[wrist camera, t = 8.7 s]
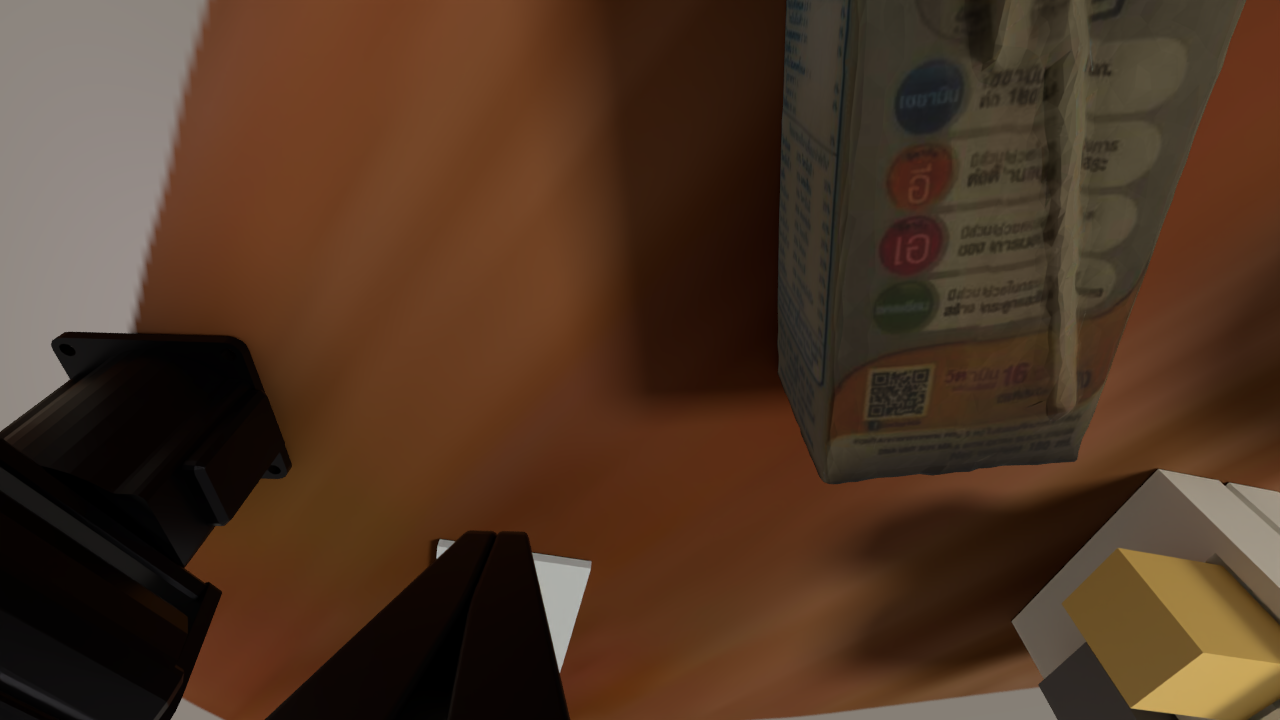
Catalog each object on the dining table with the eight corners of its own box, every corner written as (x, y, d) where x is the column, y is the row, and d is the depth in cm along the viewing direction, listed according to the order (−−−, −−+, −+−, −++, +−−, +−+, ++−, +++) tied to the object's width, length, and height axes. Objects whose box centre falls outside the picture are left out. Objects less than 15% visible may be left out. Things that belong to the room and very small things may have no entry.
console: (1011, 621, 31) (1138, 846, 23) (1158, 468, 25) (1394, 700, 17) (1112, 636, 32) (1268, 858, 24) (1277, 491, 26) (1556, 723, 18)
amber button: (1061, 603, 24) (1130, 708, 21) (1117, 547, 22) (1203, 652, 19) (1159, 618, 24) (1242, 722, 21) (1222, 565, 23) (1323, 670, 19)
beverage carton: (1187, -441, 12) (1647, -771, 7) (985, 358, 23) (1096, 486, 17) (784, -380, 12) (901, -642, 7) (770, 377, 23) (813, 508, 18)
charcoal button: (1038, 684, 27) (1094, 786, 24) (1085, 642, 25) (1153, 745, 22) (1125, 696, 28) (1192, 797, 24) (1177, 655, 26) (1257, 757, 23)
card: (429, 659, 33) (426, 671, 32) (439, 539, 28) (435, 550, 27) (557, 675, 34) (556, 686, 33) (591, 561, 28) (590, 573, 28)
